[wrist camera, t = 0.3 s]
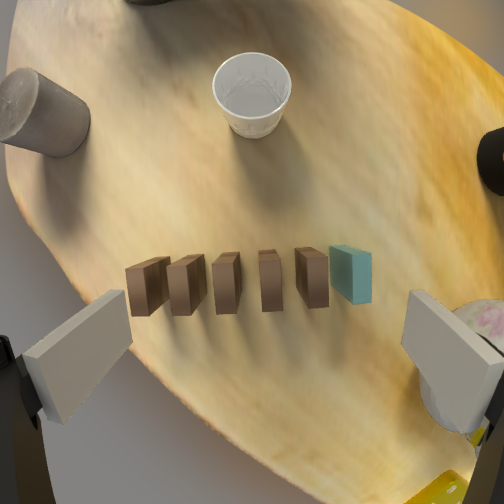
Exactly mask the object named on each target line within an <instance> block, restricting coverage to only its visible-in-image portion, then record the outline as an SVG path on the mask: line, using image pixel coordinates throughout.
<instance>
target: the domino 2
mask: <svg viewBox="0 0 504 504" xmlns="http://www.w3.org/2000/svg"><path fill="white" fill-rule="evenodd" d="M166 268H167V277H168V286H169V295H170V303H171V311H172V316H191V315H192V314H193V312H194V311H195V310H196V308H197V307H198V305H199V304H200V302H201V301H202V299H203V298H204V296H205V295H206V293H207V287H206V276H205V265H204V254H197V255H188V256H186V257H184V258H182V259H180V260H178V261H176V262H174V263H172V264H170V265H169V266H167V267H166Z"/></svg>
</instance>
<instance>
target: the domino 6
mask: <svg viewBox="0 0 504 504" xmlns="http://www.w3.org/2000/svg"><path fill="white" fill-rule="evenodd" d="M330 274H331V285H332V286H333V287H334V288H335V289H336V290H338V291H339V292H340V293H341V294H342V295H343V296H344V297H345V298H346V299H347V300H348V301H350V302H351V303H352V304H353V305H354V304H363V303H371V294H372V266H371V253H369V252H366V251H363V250H359V249H356V248H353V247H350V246H346V245H335V246H330Z"/></svg>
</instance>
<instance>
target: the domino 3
mask: <svg viewBox="0 0 504 504" xmlns="http://www.w3.org/2000/svg"><path fill="white" fill-rule="evenodd" d="M212 274H213V285H214V296H215V306H216V315H219V314H237V310H238V306H239V301H240V297H241V292H242V286H241V273H240V259H239V252H228V253H222V254H221V255H220V256H219V257H218V258H217V259H216V260H215V261H214V262H213V263H212Z"/></svg>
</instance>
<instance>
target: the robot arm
mask: <svg viewBox="0 0 504 504" xmlns="http://www.w3.org/2000/svg"><path fill="white" fill-rule="evenodd" d="M128 1H130V2H132V3H134V4H139V5H154V4H160V3H164V2H168V1H171V0H128ZM132 343H133V340H132V335H131V330H130V324H129V318H128V312H127V306H126V299H125V292H124V290H109V291H108V292H106V293H105V294H104V295H102V296H101V297H99V298H98V299H96V300H95V301H94V302H92V303H91V304H89V305H88V306H87V307H85V308H84V309H82V310H81V311H80V312H78V313H77V314H75V315H74V316H73V317H71V318H70V319H69V320H67V321H66V322H64V323H63V324H62V325H60V326H59V327H57V328H56V329H55V330H53V331H52V332H51V333H49V334H48V335H46V336H45V337H44V338H42V339H41V340H40V341H38V342H37V343H36V344H34V345H33V346H32V347H30V348H29V349H28V350H26V351H25V352H24V353H23V354H21V355H20V356H19V357H17V358H16V359H15V356H14V354H13V351H12V347H11V344H10V341H9V338H8V337H7V336H4V335H0V504H56V502H55V498H54V494H53V490H52V486H51V481H50V476H49V471H48V466H47V461H46V455H45V449H44V443H43V436H42V428H41V420H40V418H39V416H38V413H37V412H38V411H39V410H40V409H41V408H43V410H44V412H45V414H46V416H47V419H48V420H50V421H53V422H55V423H58V424H61V425H64V424H65V423H66V422H67V421H68V419H69V418H70V417H71V416H72V415H73V413H74V412H75V411H76V409H77V408H78V407H79V406H80V405H81V404H82V402H83V401H84V400H85V399H86V397H87V396H88V395H89V394H90V392H91V391H92V390H93V389H94V388H95V386H96V385H97V384H98V383H99V381H100V380H101V379H102V378H103V377H104V376H105V374H106V373H107V372H108V371H109V370H110V369H111V367H112V366H113V365H114V364H115V363H116V361H117V360H118V359H119V358H120V357H121V356H122V354H123V353H124V352H125V351H126V350H127V348H128V347H129V346H130V345H131V344H132ZM401 345H402V346H403V348H404V349H405V351H406V352H407V353H408V355H409V356H410V358H411V359H412V361H413V362H414V364H415V365H416V366H417V368H418V369H419V371H420V372H421V374H422V375H423V377H424V378H425V380H426V381H427V383H428V384H429V386H430V387H431V389H432V390H433V392H434V393H435V395H436V396H437V398H438V399H439V401H440V402H441V404H442V406H443V407H444V409H445V410H446V412H447V413H448V415H449V417H450V418H451V420H452V421H453V423H454V425H455V426H456V428H457V429H458V431H459V433H460V434H465V433H468V432H471V431H474V430H477V429H478V428H479V426H480V424H481V422H482V420H483V418H484V416H486V418H487V419H488V420H489V424H488V426H487V428H486V430H485V432H484V434H483V436H482V438H481V440H480V441H479V443H478V445H477V446H479V447H480V445H481V444H482V445H481V449H480V452H479V456H478V459H477V462H476V466H475V469H474V472H473V475H472V478H471V480H470V483H469V486H468V489H467V491H466V494H465V497H464V499H463V502H462V504H504V353H503V352H502V351H501V350H498V348H497V347H496V346H495V345H492V343H491V342H490V341H489V340H488V339H487V338H486V337H484V336H482V335H480V334H478V333H476V332H474V331H473V330H472V329H471V328H469V327H468V326H467V325H466V324H465V323H464V322H462V321H461V320H460V319H459V318H458V317H456V316H455V315H454V314H453V313H452V312H450V311H449V310H448V309H447V308H446V307H444V306H443V305H442V304H441V303H439V302H438V301H437V300H436V299H435V298H433V297H432V296H431V295H430V294H428V293H427V292H426V291H425V290H412V291H410V292H409V299H408V306H407V313H406V319H405V325H404V331H403V336H402V342H401Z"/></svg>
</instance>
